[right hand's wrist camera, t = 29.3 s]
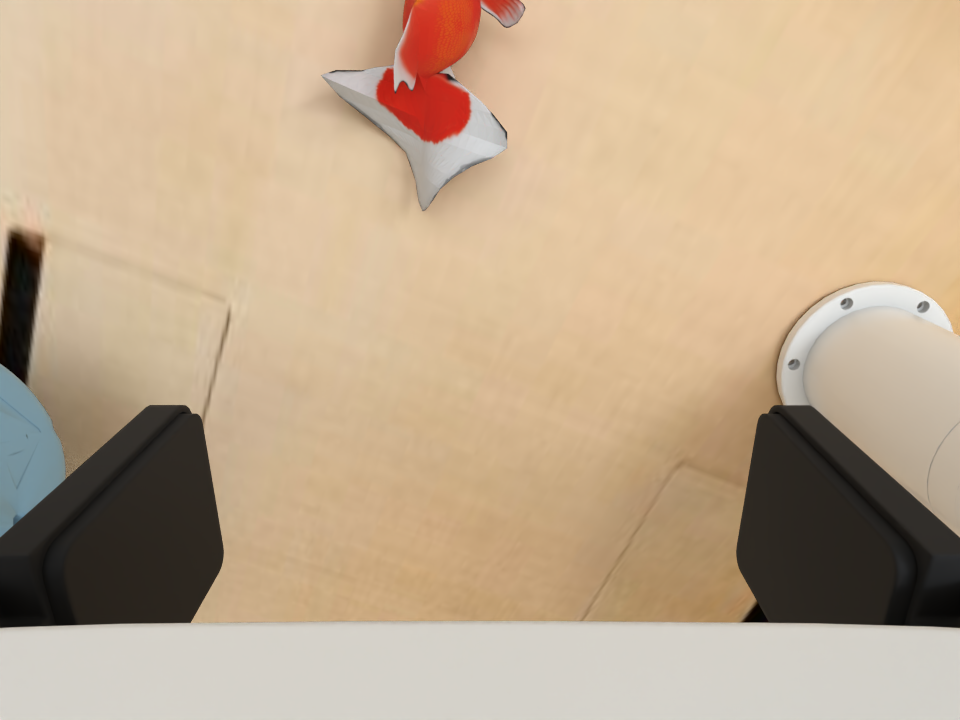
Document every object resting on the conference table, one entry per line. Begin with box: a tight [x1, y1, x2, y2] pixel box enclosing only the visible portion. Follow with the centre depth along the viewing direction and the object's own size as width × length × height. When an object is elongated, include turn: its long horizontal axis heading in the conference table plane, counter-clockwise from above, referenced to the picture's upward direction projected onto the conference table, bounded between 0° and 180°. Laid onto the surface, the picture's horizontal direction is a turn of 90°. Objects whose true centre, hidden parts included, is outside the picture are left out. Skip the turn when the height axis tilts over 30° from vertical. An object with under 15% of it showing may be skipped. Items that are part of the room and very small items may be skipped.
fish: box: [321, 0, 525, 211], centre depth 39 cm, size 11×16×10 cm
